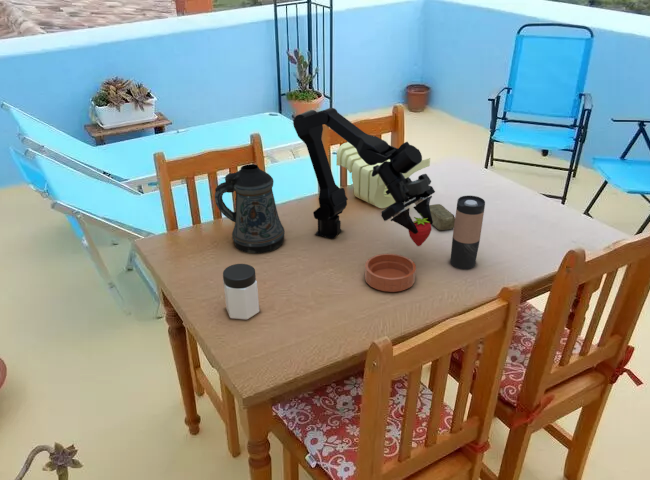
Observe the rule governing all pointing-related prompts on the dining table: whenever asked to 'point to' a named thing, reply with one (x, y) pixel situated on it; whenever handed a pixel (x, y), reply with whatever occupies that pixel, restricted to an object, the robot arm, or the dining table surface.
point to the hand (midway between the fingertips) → (424, 228)
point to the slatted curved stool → (369, 176)
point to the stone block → (442, 217)
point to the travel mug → (467, 231)
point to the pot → (390, 272)
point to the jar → (241, 291)
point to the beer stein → (252, 210)
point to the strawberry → (420, 231)
